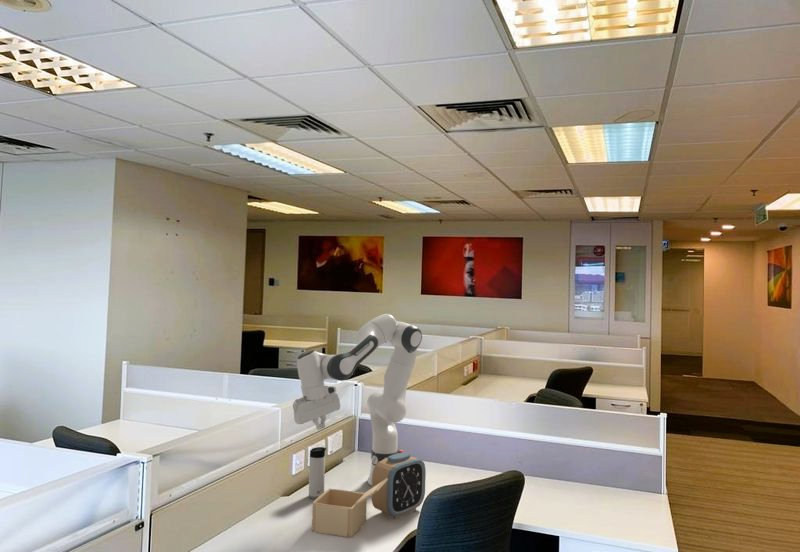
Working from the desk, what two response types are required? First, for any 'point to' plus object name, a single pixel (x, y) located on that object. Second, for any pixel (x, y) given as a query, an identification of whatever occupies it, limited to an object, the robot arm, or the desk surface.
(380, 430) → the robot arm
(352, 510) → the carton
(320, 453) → the travel mug
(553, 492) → the desk surface
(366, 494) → the flap
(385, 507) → the alarm clock
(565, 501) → the desk surface
